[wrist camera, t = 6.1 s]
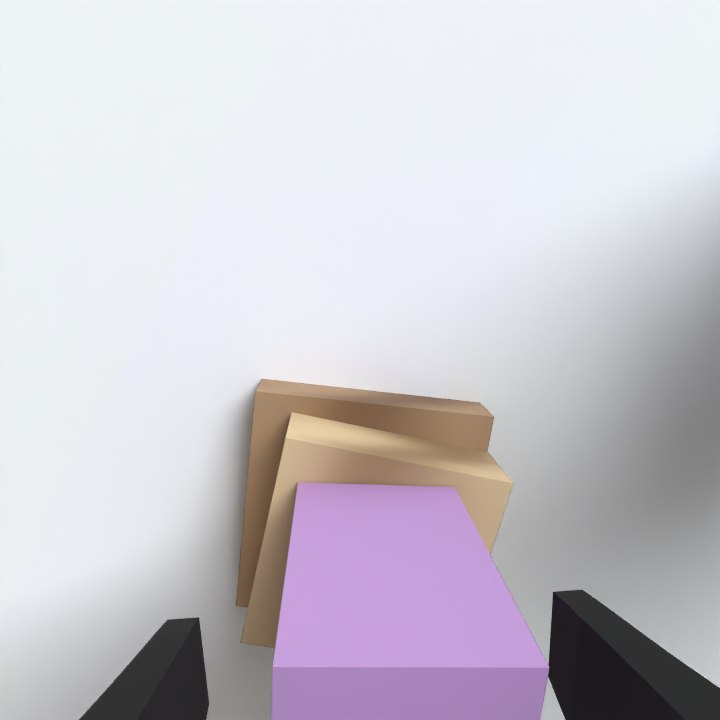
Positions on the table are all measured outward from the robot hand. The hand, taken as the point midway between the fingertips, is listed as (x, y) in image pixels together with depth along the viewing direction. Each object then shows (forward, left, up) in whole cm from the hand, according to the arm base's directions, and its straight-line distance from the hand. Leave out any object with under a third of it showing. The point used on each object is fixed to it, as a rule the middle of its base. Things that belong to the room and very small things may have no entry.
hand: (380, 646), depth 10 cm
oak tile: (0, 0, -5) cm, 5 cm away
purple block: (0, 0, -3) cm, 3 cm away
